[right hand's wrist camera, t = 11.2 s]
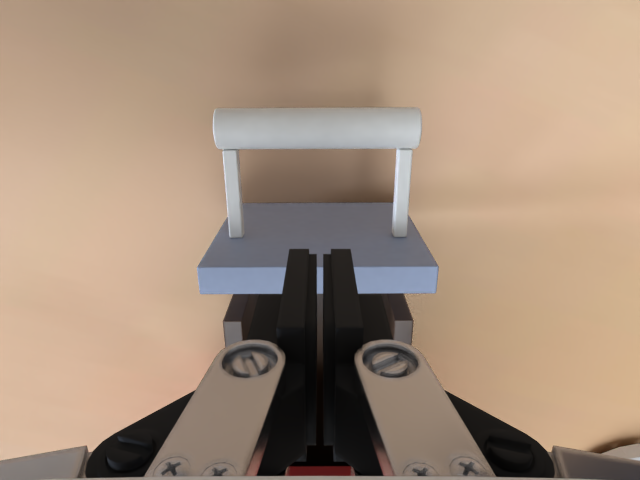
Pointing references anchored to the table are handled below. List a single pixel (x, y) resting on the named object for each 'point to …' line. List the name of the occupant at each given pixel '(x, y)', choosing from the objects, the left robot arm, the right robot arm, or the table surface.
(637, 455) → the mechanical component
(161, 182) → the table surface
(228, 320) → the drawer
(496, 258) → the table surface
